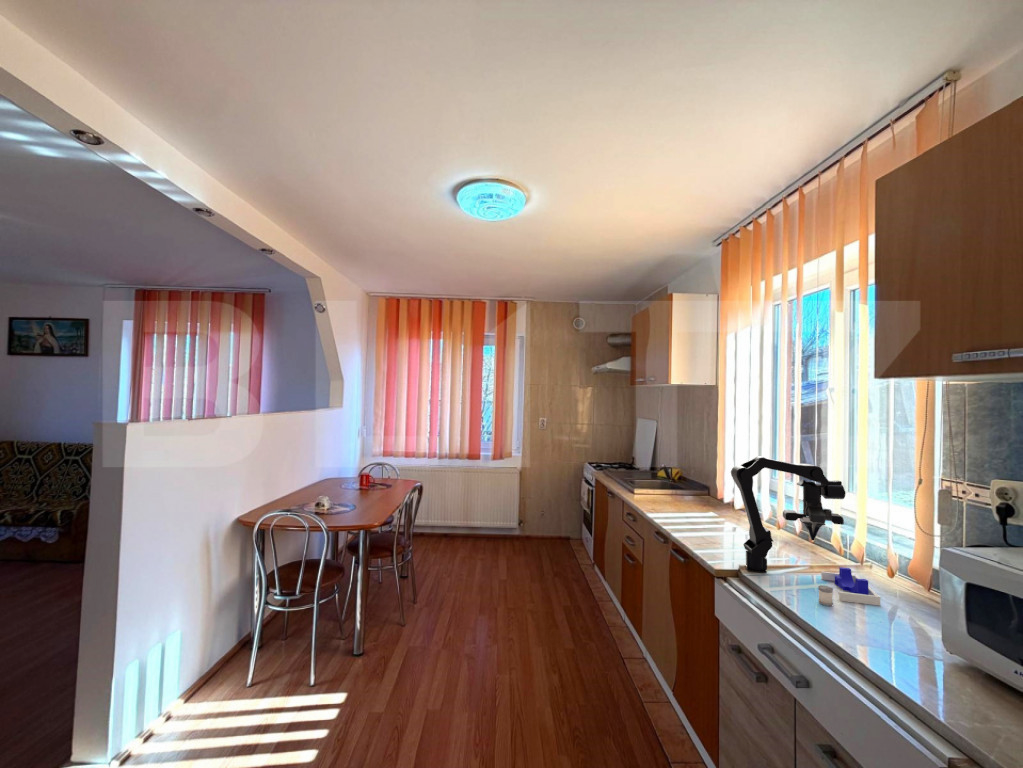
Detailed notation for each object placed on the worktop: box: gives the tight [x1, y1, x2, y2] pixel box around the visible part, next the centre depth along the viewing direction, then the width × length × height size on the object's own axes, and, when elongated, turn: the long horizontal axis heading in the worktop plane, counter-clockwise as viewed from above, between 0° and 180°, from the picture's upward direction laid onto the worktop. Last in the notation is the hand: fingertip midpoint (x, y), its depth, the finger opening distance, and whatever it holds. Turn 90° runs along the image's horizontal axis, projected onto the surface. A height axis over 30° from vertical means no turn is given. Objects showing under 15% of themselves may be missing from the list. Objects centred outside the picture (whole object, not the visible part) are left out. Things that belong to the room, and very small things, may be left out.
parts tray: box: [820, 570, 881, 606], centre depth 159 cm, size 11×20×3 cm, turn 161°
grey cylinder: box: [817, 585, 834, 607], centre depth 149 cm, size 4×4×5 cm
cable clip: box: [834, 566, 869, 595], centre depth 159 cm, size 12×4×6 cm, turn 170°
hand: (812, 540), depth 177 cm, fingers closed
